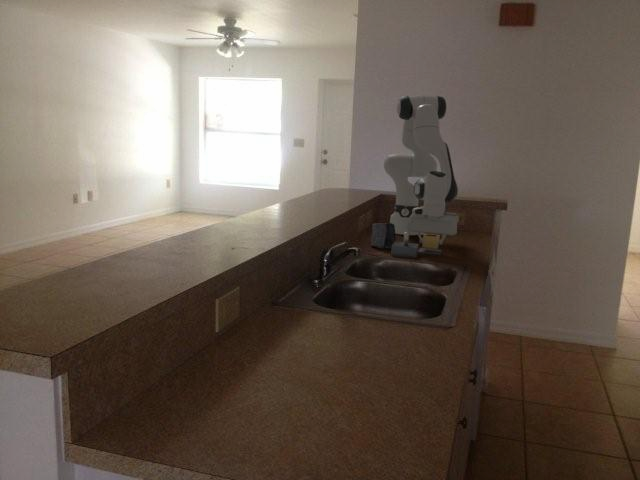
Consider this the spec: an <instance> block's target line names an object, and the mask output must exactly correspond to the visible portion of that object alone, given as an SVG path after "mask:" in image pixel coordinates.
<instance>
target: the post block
mask: <svg viewBox="0 0 640 480" xmlns="http://www.w3.org/2000/svg"><path fill="white" fill-rule="evenodd" d="M409 238H410V235H409V232H404V235H403V240H402V241H397V240H396V241H395V242H394V243H393V244H392V248H390V249H391V250H390V256H395V257H403V258H412V259H413V258H415V259H417V257H418V255H419V253H418V252H419V249H420V248H419V247H420V244H419V243H416V242H415V243H414V242H413V243H412V242H409Z"/></svg>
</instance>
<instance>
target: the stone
mask: <svg viewBox="0 0 640 480" xmlns="http://www.w3.org/2000/svg"><path fill="white" fill-rule="evenodd" d="M371 224H372V225H371V228H372V229H371V230H372V231H371V237H370V246H371V247H372V246H373V247H375V248H378V249H380V248H381V249H382V250H385V249H391V248H392V244H393V243H394V242H395V241H396V242H397V240H396V239H397V237H396V236H397V234H395V226H394V224H392V223H390V222H389V223H388V222H385V223H382V222H381V223H380V222H378V223H371ZM381 249H380V250H381Z"/></svg>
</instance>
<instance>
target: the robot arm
mask: <svg viewBox="0 0 640 480" xmlns="http://www.w3.org/2000/svg"><path fill="white" fill-rule="evenodd" d="M446 101H447V100H446V99H445V98H444V97H443V96H438V95H435V96H434V95H429V94H428V95H427V94H421V95H410V96H409V95H404V96H403V95H402V96H401V97H400V98H399V99H398V102H397V105H396V112H397V116H398V117H399V118H400V119H401V120H403V127H402V133H401V143H402V145H403V146H404V147H405V148H406V149H408V150H410V151H411V152H412V154H411V153H410V154H409V153H393V154H392V153H391V154H388V155H387V156H386V157H385V159H384V162H383V168H384V171H385V173H386V174H387V175H388V176H389V177H390V178H391V180H392V181H393V182H394V185H395V189H396V190H395V191H396V192H395V193H396V196H395V197H396V198H395V203H394V208H393V209H394V212H393V213H392V214H391V215H390V220H389V223H392V224H394V226H395V235H401V236H402V235H403V236H404V232H409V236H417V237H418V238H419V241H418V242H419V243H420V244H422V243H423V237H422V236H423V235H424V233H426V234H436V235H441V237H442V238H441V239H439V243H438V245H439V246H443V241H444V240H445V238H446V236H456V235H457V232H458V231H457V230H458V225H457V224H458V223H459V221H460V216H459V215H458V214H457V213H455V212H450V211H449V212H447V211H446V203H450V202H452V201H454V199H456V198H457V196H458V184H457V182H456V178H455V174H454V168H453V162H452V157H451V154H450V149H449V146H448V144H447V143H446V142H445V141H444V140H443V138H442V136H441V132H440V130H441V129H440V120H441V119H443V118H444V117H445V115H446V113H447V107H448V106H447V102H446ZM436 159H437V160H436ZM437 161H438V162H437ZM438 163H439V167H440V171H437V170H438ZM408 178H418V180H416V182H415V183H414V184H413V183H411V182H409V179H408ZM419 200H420V201H423V205H422V206H421V205H420V206H419ZM419 243H418V244H419Z"/></svg>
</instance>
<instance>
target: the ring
mask: <svg viewBox="0 0 640 480" xmlns="http://www.w3.org/2000/svg"><path fill="white" fill-rule="evenodd" d="M423 233H424V232H423ZM440 235H441V234H434V233H424V235H422V238H423V243H421V244H422V245H421V248H426V249H436V250H439V247H440V245H438V243H439V240H440Z"/></svg>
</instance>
